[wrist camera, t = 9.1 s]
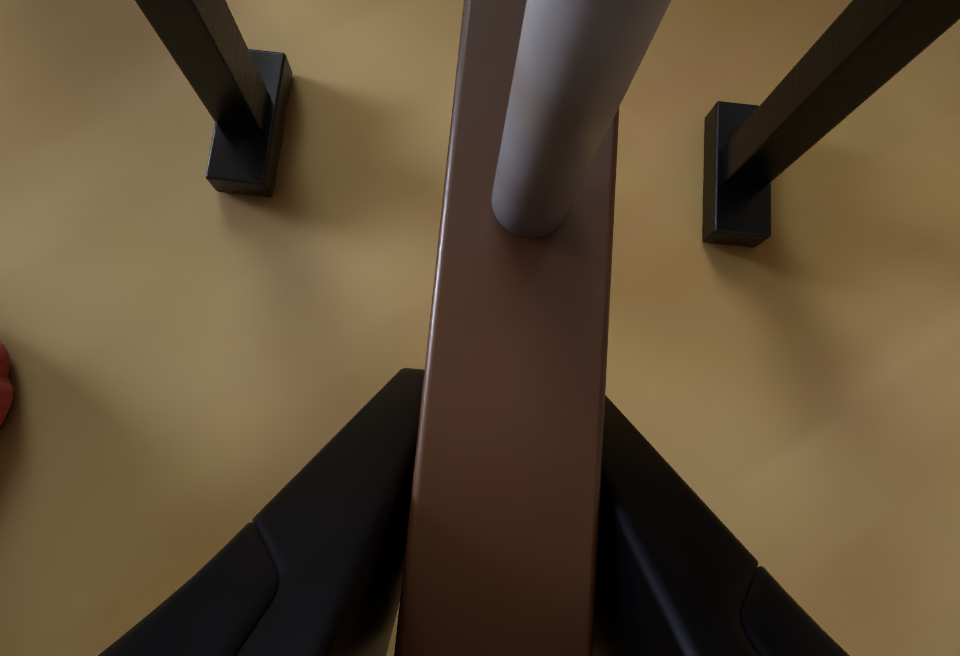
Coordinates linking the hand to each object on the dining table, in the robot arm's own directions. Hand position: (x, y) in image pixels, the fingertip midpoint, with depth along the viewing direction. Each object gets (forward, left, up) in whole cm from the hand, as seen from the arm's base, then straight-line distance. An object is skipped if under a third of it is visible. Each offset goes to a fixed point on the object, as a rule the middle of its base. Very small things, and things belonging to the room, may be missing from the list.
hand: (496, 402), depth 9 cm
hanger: (+2, +2, 0) cm, 3 cm away
